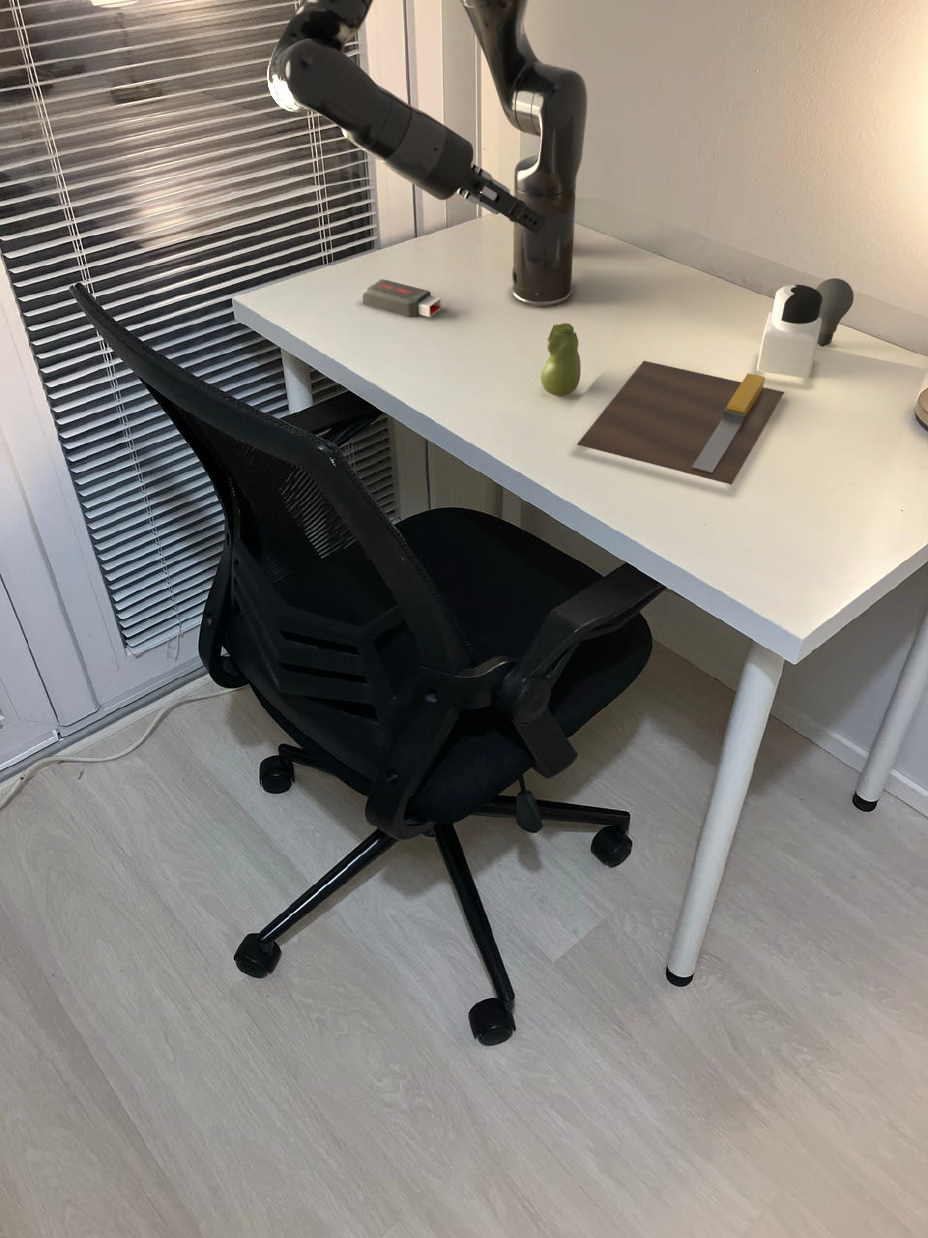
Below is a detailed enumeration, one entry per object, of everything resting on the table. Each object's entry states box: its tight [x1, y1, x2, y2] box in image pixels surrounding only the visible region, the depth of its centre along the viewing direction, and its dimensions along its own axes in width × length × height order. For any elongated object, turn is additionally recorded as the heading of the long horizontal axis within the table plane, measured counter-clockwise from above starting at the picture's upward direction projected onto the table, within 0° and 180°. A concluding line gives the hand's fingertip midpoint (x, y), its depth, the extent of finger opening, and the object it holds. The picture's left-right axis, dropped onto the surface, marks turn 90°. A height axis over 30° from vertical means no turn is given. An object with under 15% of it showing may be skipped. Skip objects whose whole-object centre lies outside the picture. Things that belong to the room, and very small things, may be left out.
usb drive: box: [362, 279, 442, 318], centre depth 165 cm, size 5×12×3 cm, turn 58°
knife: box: [692, 372, 766, 474], centre depth 134 cm, size 22×3×2 cm, turn 152°
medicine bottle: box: [756, 284, 822, 379], centre depth 144 cm, size 7×7×12 cm
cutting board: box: [576, 360, 785, 485], centre depth 137 cm, size 24×20×2 cm
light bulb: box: [815, 277, 855, 347], centre depth 150 cm, size 6×6×10 cm
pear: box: [540, 322, 582, 397], centre depth 141 cm, size 6×5×10 cm
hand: (527, 217), depth 135 cm, fingers open, 8 cm apart
